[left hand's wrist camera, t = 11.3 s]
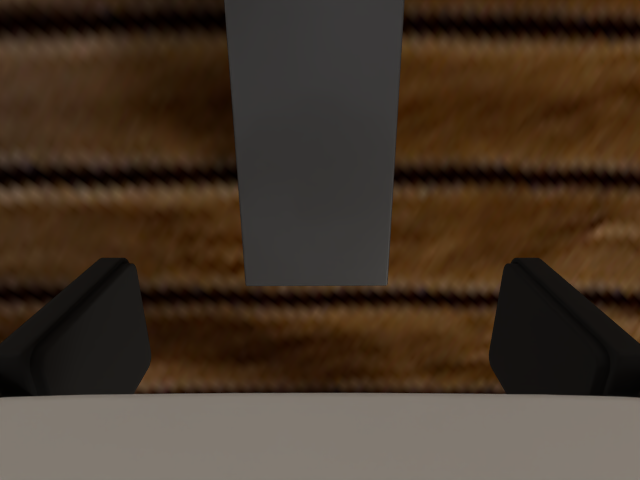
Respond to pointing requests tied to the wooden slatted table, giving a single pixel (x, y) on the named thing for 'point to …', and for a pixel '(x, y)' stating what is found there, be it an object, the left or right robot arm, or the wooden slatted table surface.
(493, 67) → the wooden slatted table surface
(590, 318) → the left robot arm
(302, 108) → the cabinet
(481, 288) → the wooden slatted table surface
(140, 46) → the wooden slatted table surface
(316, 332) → the wooden slatted table surface
